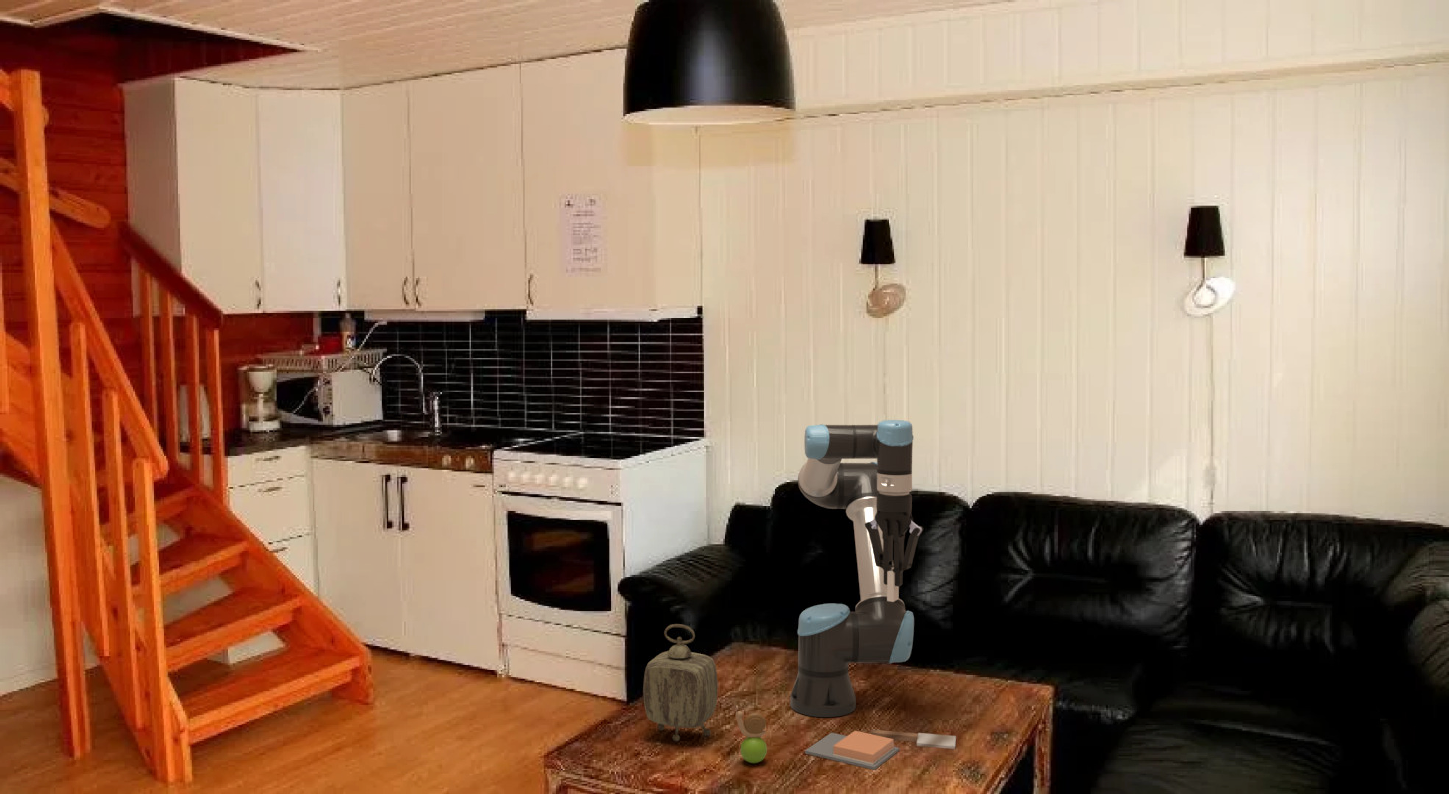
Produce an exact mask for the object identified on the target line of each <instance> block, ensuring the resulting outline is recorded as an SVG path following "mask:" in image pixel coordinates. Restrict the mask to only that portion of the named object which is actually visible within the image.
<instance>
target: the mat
mask: <svg viewBox="0 0 1449 794" xmlns="http://www.w3.org/2000/svg"><path fill="white" fill-rule="evenodd" d="M847 736H848V735H843V734H840V733H836V732H830V733H829V734H828V735H826V736H824V737H823V738H821V739H820V740H818V741H817V742H815V743H814V744H812V745H811V746H809V747H808V748H806V749H805V750H804V754H806V755H811V756H814V757H819V758H823V759H827V760H832V761H835V762H839V763H844V764H848V765H853V766H856V767H861V768H863V769H869V770H873V771H875V770H876V769H877V768H879V767H880V766H881V765H884V763H886V761H889V759H891V758H892V757H893V756H894V755H896V754H897V753H899V751H900V747H897V746H894V749H892V750H891V751H890V752H888V753H887V754H886V755H884V756H883V757H882V758H881V759H879V760H878V761H877V762H875V763H874V764H869V763H865V762H860V761H856V760H852V759H848V758H843V757H839V756H835V755H833V746H834V745H835V744H837V743H838V742H840V741H841V740H842V739H844V738H845V737H847Z"/></svg>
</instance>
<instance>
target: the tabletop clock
mask: <svg viewBox="0 0 1449 794" xmlns="http://www.w3.org/2000/svg"><path fill="white" fill-rule="evenodd" d="M672 628H682V629H685V630H687V631H689V633H690V632H691V635H692V638H690V639H688V640H683V637H681V636H677V638H676V639H673V638H671V637H670V636H668V634H667V632H668V631H669V630H670V629H672ZM663 633H664V634H663V635H664V637H665V638H666V639H667V640H668V641H669V642H671V643H673V644H674V645H672V646H671V647H670V648H669V650H667V651H662V652H661V653H659V654H658V655H656V656H655V657H654V658H652V659H651V660H650V661H649V662H648V663H647V665H646V667H645V670H644V676H643V687H642V694H643V705H644V711H645V714H646V717H647V719H648V720H650V721H651V722H653V723H655V724H657V728H658V729H657V730H659V731H663V730H665V726H667V727H673V728H674V730H675V733H674V734H673V735H672V741H674V742H675V743H676V742H679V741H680V739H681V736H680V734H679V730H680V729H679V728H684V729H686V728H687V729H692V728H698V727H700V728H701V729H702V730H703V731H702V734H703V735H704V736H705V737H709V736H710V735H711V730H710V729H709V728H706V726H705V725H704V724H705V723H706V722H707V721H708V720H709V718H711V717H712V715H714V712H715V710H716V707H717V702H718V690H719V689H718V688H719V685H718V684H719V683H718V672H717V666H716V663H715V661H714V658H712V657H711V656H709V655H706V654H703V653H702V654H701V653H697V652H692V651H691V649H690V648H689V647H688V646H687V644H690V643H692V642H693V641H694V640H695V637H696V634H695V631H694V630H693V629H692V627H690V626H689V625H685V624H680V623H674V624H669V625H668V626H667V627H666V628H665V630H664V632H663Z"/></svg>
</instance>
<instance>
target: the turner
mask: <svg viewBox="0 0 1449 794" xmlns="http://www.w3.org/2000/svg"><path fill="white" fill-rule="evenodd" d="M870 734H872V735H877V736H881V737H886V738H890V739H894V741H901V742H902V741H903V742H911V743H912V742H913V743H914V742H915V743H916V747H929V748H938V749H939V748H940V749H952V750H955V749H956V742H957V741H956V739H957V736H956V735H946V734H937V733H936V734H935V733H924V732H918V733H913V732H906V731H905V732H903V731H892V730H880V729H871V730H870Z"/></svg>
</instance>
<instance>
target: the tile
mask: <svg viewBox="0 0 1449 794" xmlns="http://www.w3.org/2000/svg"><path fill="white" fill-rule="evenodd" d="M846 736H847V737H845V738H844V739H842V740H841V741H840V742H838V743H837V744H835V745H834V746H833V755H835V756H839V757H843V758H848V759H852V760H856V761H860V762H865V763H869V764H874V763H875V762H877V761H878V760H879V759H881V758H882V757H883V756H884V755H886V754H887V753H888V752H890V751H891V750H892V749H894V747H895V746H894V745H895V744H894V741H895V740H894V739H890V738H886V737H881V736H877V735H872V734H871V733H867V732H863V731H858V730H854V731H853V732H851V733H850V734H848V735H846Z"/></svg>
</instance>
